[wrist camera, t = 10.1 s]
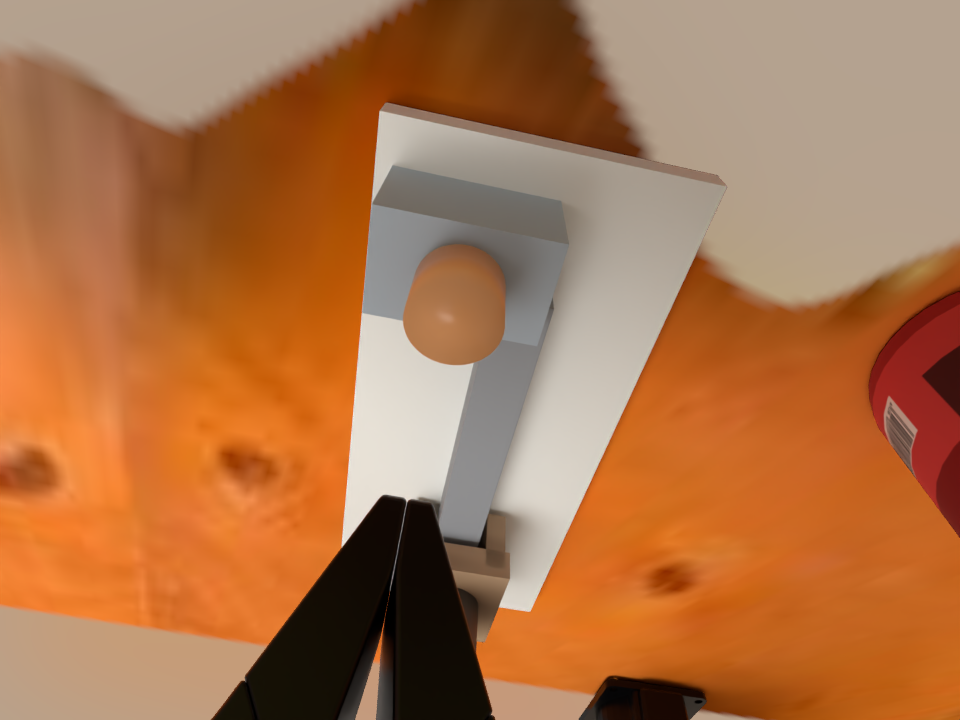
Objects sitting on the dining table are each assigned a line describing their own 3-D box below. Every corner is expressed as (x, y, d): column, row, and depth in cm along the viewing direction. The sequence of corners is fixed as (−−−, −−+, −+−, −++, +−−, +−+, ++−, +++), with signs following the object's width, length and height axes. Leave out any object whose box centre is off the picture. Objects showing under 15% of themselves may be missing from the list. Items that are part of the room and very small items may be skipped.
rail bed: (529, 594, 31) (531, 670, 27) (343, 565, 30) (322, 640, 27) (717, 175, 17) (764, 229, 14) (386, 102, 16) (355, 142, 13)
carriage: (487, 581, 28) (479, 758, 22) (397, 567, 28) (365, 743, 22) (510, 517, 25) (509, 701, 19) (410, 500, 25) (376, 682, 19)
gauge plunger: (494, 332, 16) (493, 372, 14) (408, 316, 16) (397, 355, 14) (515, 254, 14) (515, 290, 13) (420, 235, 14) (409, 268, 13)
